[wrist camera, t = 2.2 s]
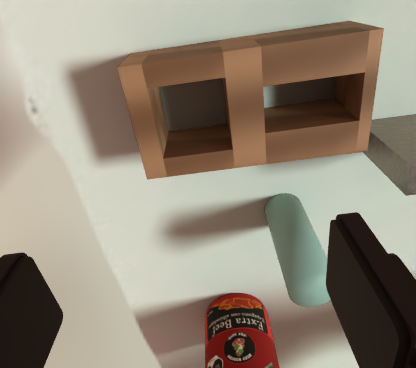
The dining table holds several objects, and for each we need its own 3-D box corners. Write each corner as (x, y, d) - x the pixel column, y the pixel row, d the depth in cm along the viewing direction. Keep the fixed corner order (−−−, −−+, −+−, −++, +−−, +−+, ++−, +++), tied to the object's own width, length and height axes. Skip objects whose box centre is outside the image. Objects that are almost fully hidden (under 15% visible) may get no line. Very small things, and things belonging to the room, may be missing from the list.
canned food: (266, 288, 38) (288, 388, 28) (267, 330, 42) (287, 430, 32) (200, 294, 38) (201, 395, 29) (208, 336, 42) (211, 436, 33)
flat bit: (414, 138, 28) (483, 186, 21) (356, 145, 29) (405, 195, 22) (419, 113, 27) (494, 156, 20) (358, 121, 27) (412, 166, 21)
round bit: (301, 221, 33) (337, 304, 24) (265, 225, 33) (288, 309, 24) (301, 191, 31) (341, 269, 22) (263, 196, 31) (288, 275, 22)
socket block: (341, 125, 27) (367, 150, 23) (154, 150, 28) (147, 179, 24) (349, 20, 23) (383, 28, 19) (131, 53, 24) (117, 67, 20)
